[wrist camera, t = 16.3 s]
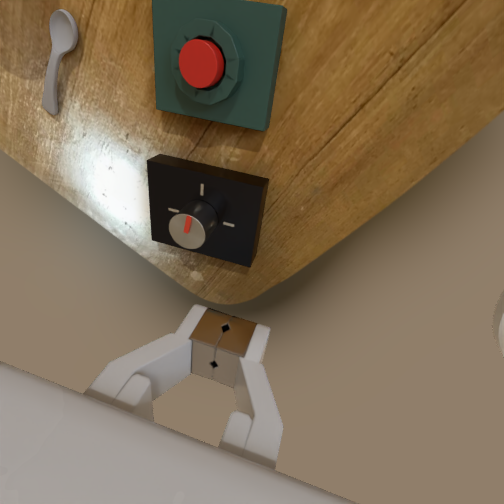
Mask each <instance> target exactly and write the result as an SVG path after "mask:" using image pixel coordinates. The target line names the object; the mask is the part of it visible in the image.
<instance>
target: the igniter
mask: <svg viewBox="0 0 504 504" xmlns="http://www.w3.org/2000/svg"><path fill="white" fill-rule="evenodd" d="M152 13H153V38H154V63H155V88H156V109H158V110H163V111H167V112H172V113H177V114H182V115H187V116H192V117H196V118H201V119H206V120H211V121H216V122H221V123H226V124H230V125H235V126H240V127H245V128H250V129H255V130H259V131H265V130H266V129H267V128H269V123H270V117H271V110H272V104H273V97H274V91H275V85H276V78H277V72H278V65H279V59H280V53H281V46H282V40H283V33H284V27H285V21H286V14H287V9H286V8H285V7H283V6H281V5H274V4H267V3H260V2H253V1H246V0H152ZM193 39H199V40H207V41H210V42H212V43H213V44H215V45H216V46H217V47H218V49H219V50H220V52H221V54H222V57H223V61H224V71H223V74H222V77H221V79H220V80H219V81H218V83H216V84H215V85H213V86H210V87H205V88H196V87H193V86H191V85H190V84H189V83H188V82H187V81H186V80H185V79H184V77H183V76H182V74H181V71H180V67H179V55H180V52H181V49H182V48H183V46H184V45H185V44H186V43H187V42H188V41H190V40H193Z"/></svg>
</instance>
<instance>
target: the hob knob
mask: <svg viewBox="0 0 504 504" xmlns="http://www.w3.org/2000/svg"><path fill="white" fill-rule="evenodd" d="M217 224H218V217H217V214H216V212H215V210H214V209H213V207H212V206H211V205H209V204H208V203H206V202H204V201H200V200H195V201H191V202H190V203H188V204H187V205H186V206H185V207H184V208H183V209H181V210H180V211H179V212H178V213H177V214H176V215H175V216H174V217H173V218H172V219H171V220H170V223H169V231H170V234H171V236H172V238H173V239H174V240H175V242H176V243H178V244H179V245H180V246H182V247H184V248H188V249H196V248H198V247H200V246H201V245H202V244H203V243H204V242H205V241H206V239H207V238H208V237H209V236H210V234H211V233H212V232H213V231H214V229H215V228H216V227H217Z"/></svg>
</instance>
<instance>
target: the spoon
mask: <svg viewBox="0 0 504 504" xmlns="http://www.w3.org/2000/svg"><path fill="white" fill-rule="evenodd" d="M49 29H50V35H51V39H52V51H51V55H50V59H49V63H48V67H47V71H46V76H45V84H44V93H43V98H42V106H43V108H44V109H45V110H46V111H48V112H49V113H50V114H52V115H56V114H58V102H57V78H58V69H59V65H60V62H61V59H62V57H63V56H64V55H65V54H66V53H68V52H70V51H72V50H73V49H74V48H75V46H76V44H77V41H78V28H77V25H76V22H75V20H74V18H73V17H72V15H71V14H70V13H69V12H67V11H66V10H63V9H59V10H56V11H55V12H53V14H52V15H51V18H50V24H49Z"/></svg>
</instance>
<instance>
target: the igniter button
mask: <svg viewBox="0 0 504 504" xmlns="http://www.w3.org/2000/svg"><path fill="white" fill-rule="evenodd" d="M179 67H180V71H181V74H182V76H183V77H184V79H185V80H186V81H187V82H188V83H189V84H190V85H191V86H193V87H196V88H205V87H210V86H213V85H215V84H216V83H218V81H219V80H220V79H221V77H222V74H223V71H224V61H223V57H222V54H221V52H220V50H219V49H218V47H217V46H216V45H215V44H213V43H212V42H210V41H207V40H199V39H193V40H190V41H188V42H187V43H186V44H185V45H184V46H183V48H182V49H181V52H180V55H179Z"/></svg>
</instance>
